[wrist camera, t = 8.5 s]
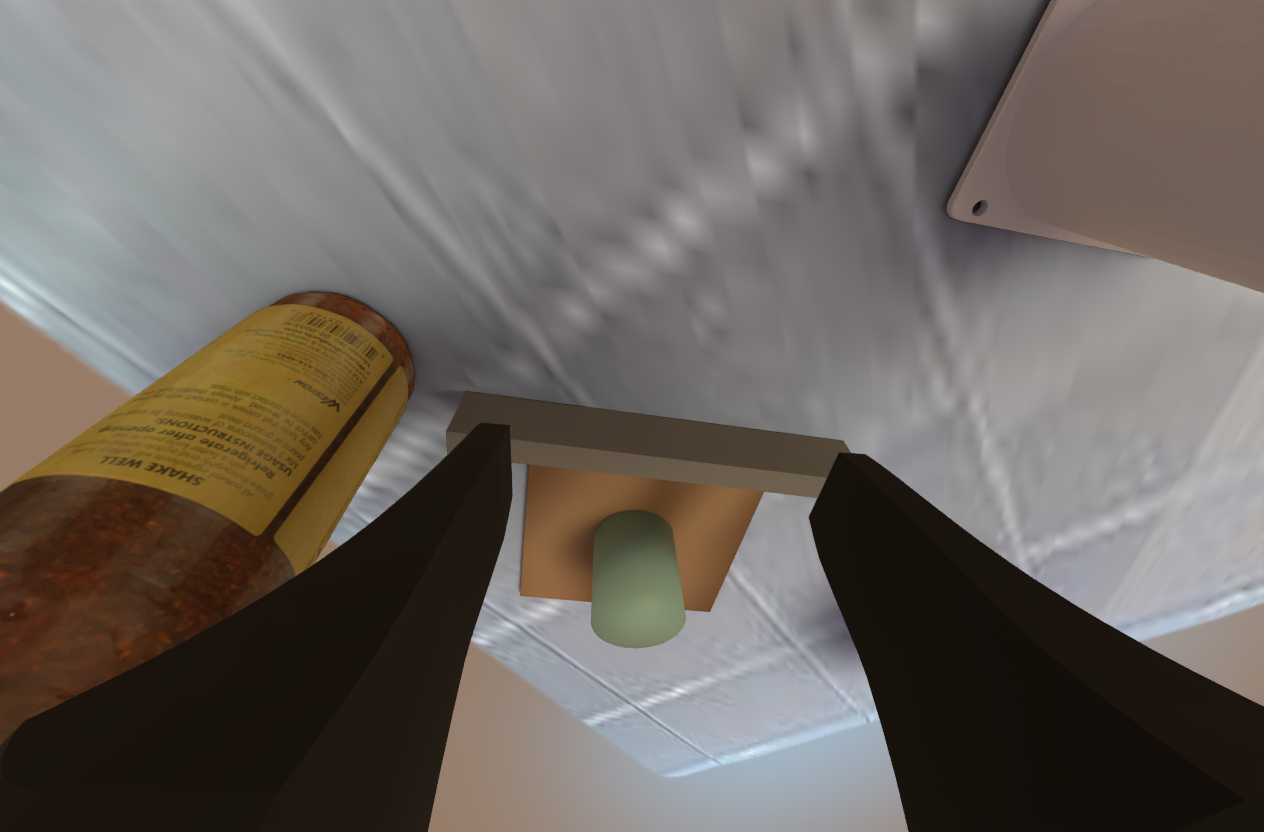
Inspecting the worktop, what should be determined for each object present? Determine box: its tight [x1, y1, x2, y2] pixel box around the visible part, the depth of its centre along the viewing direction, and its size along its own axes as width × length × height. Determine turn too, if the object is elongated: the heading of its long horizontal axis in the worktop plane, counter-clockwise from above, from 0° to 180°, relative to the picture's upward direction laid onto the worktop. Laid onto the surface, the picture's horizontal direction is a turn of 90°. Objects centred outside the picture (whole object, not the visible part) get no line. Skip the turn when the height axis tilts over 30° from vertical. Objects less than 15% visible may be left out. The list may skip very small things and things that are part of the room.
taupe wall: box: [446, 391, 851, 498], centre depth 21 cm, size 18×1×3 cm, turn 80°
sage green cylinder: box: [591, 510, 686, 648], centre depth 24 cm, size 4×4×5 cm
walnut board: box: [520, 464, 764, 612], centre depth 27 cm, size 12×12×1 cm
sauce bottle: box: [0, 292, 415, 745], centre depth 12 cm, size 7×6×20 cm
